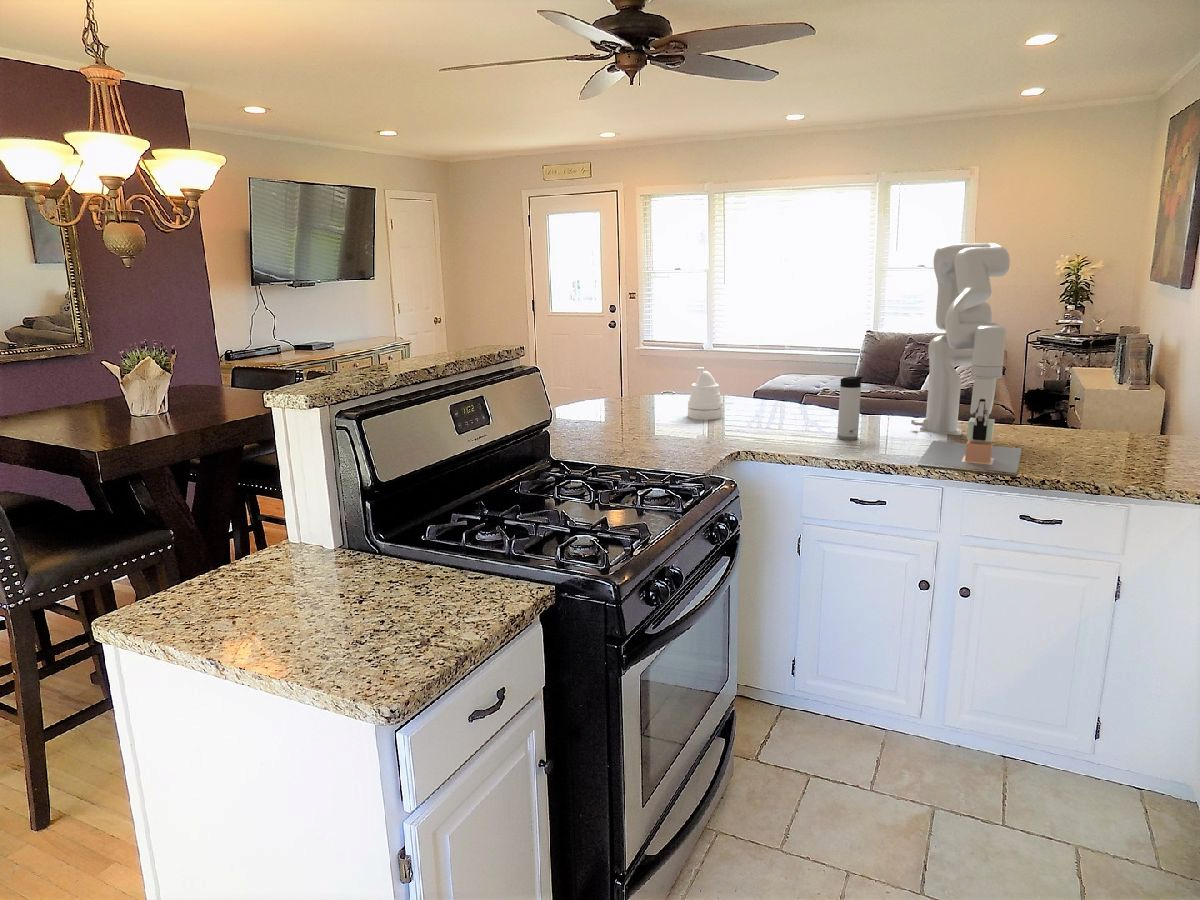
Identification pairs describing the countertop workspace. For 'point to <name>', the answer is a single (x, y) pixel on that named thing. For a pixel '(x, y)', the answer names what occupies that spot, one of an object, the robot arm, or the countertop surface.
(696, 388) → the honey pot
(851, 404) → the travel mug
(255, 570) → the countertop surface
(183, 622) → the countertop surface
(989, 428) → the sage brick
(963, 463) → the baseplate
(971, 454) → the terracotta brick
